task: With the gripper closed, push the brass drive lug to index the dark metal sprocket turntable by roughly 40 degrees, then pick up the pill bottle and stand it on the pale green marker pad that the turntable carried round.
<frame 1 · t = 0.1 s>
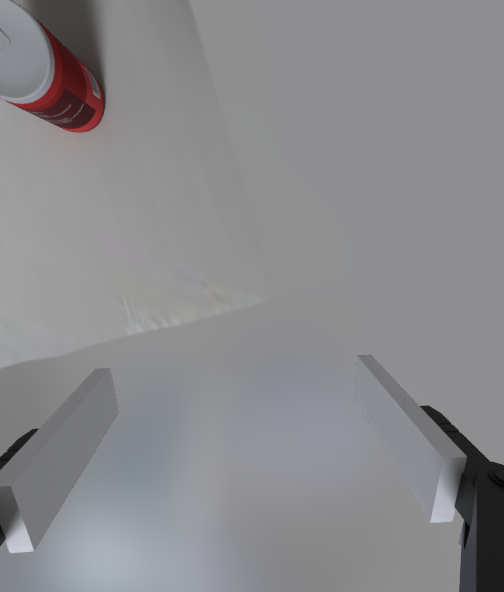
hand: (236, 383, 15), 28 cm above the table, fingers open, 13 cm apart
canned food: (75, 99, 35), on the table
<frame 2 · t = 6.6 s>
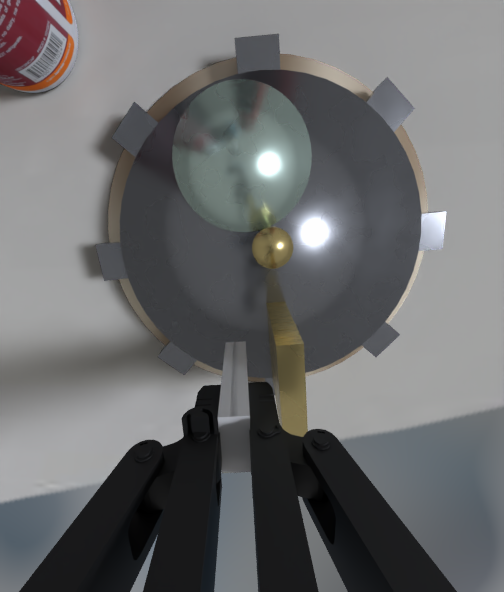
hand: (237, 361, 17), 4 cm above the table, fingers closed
sprocket: (275, 252, 15), point 4 cm above the table, hinge at 2.8°, touching gripper
base: (269, 243, 19), on the table
pill bottle: (28, 34, 15), on the table
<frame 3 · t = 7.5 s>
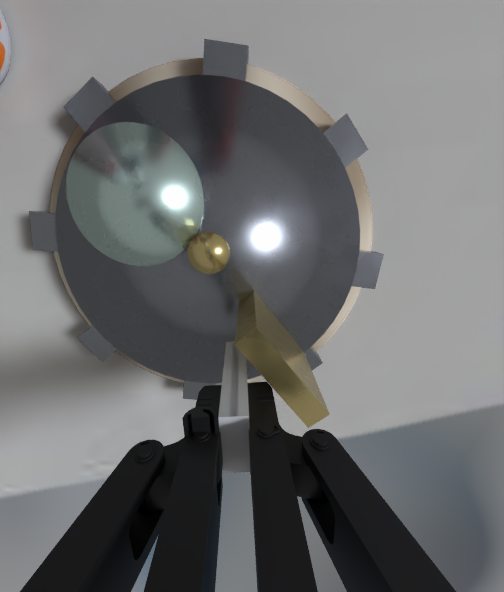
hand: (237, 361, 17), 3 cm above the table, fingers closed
sprocket: (204, 257, 15), point 4 cm above the table, hinge at 35.8°, touching gripper
base: (213, 248, 19), on the table
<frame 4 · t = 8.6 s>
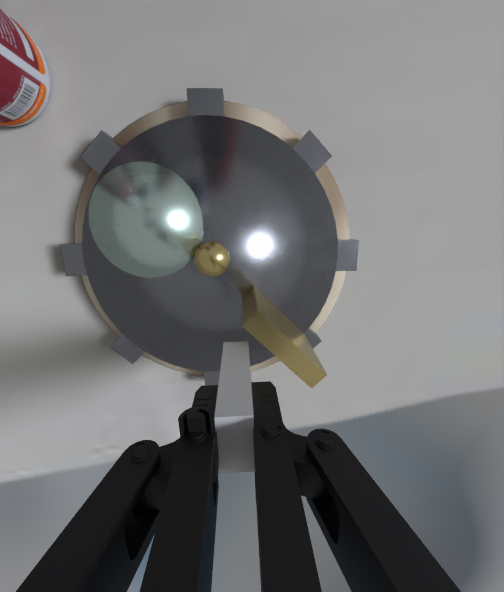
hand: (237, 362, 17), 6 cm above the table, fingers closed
sprocket: (208, 262, 18), point 4 cm above the table, hinge at 44.3°
base: (215, 255, 22), on the table
pill bottle: (9, 79, 19), on the table
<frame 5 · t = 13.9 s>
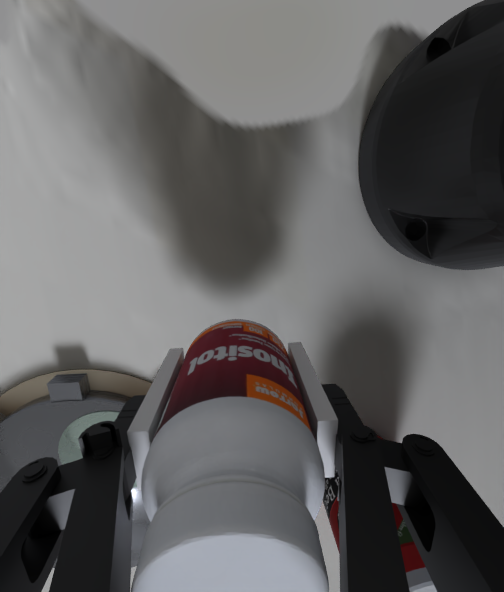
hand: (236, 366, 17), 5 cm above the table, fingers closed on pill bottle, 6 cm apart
sprocket: (73, 526, 21), point 4 cm above the table, hinge at 44.3°
base: (99, 474, 25), on the table
pill bottle: (236, 361, 17), point 5 cm above the table, touching gripper
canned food: (352, 459, 26), on the table
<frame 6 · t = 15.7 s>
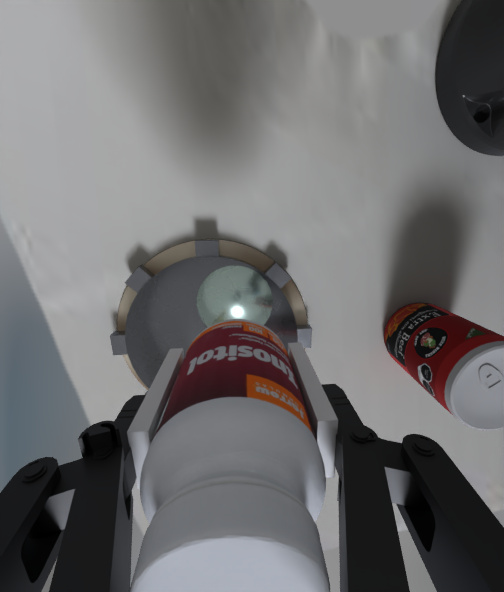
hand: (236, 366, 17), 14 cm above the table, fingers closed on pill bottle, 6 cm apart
sprocket: (210, 352, 27), point 4 cm above the table, hinge at 44.3°
base: (214, 334, 31), on the table
pill bottle: (236, 361, 17), point 14 cm above the table, touching gripper
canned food: (413, 332, 32), on the table
when the fingers open (3 cm above the table, at t = 17.8 s): pill bottle stays where it is, resting on sprocket.
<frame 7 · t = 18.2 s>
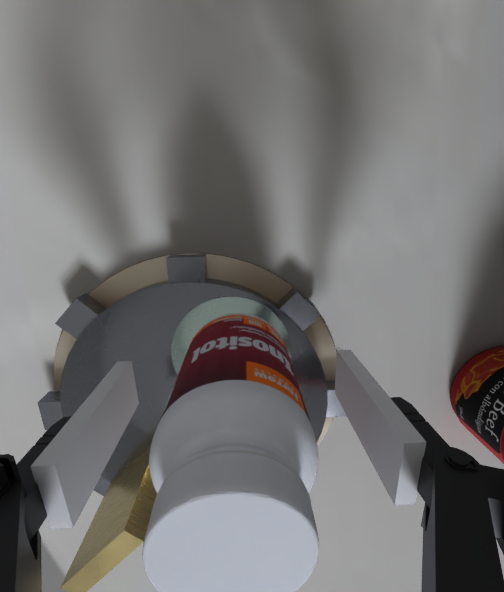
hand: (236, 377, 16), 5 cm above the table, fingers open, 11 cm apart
sprocket: (192, 435, 17), point 4 cm above the table, hinge at 44.1°, touching pill bottle
base: (201, 393, 21), on the table
pill bottle: (237, 353, 18), point 2 cm above the table, touching sprocket
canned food: (492, 386, 22), on the table
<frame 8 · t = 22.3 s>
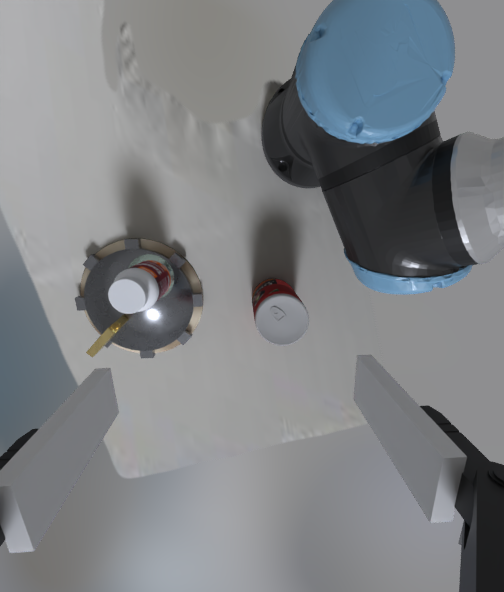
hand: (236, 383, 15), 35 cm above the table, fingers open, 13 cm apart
sprocket: (134, 306, 45), point 4 cm above the table, hinge at 44.1°, touching pill bottle
base: (143, 299, 49), on the table
pill bottle: (153, 277, 46), point 2 cm above the table, touching sprocket
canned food: (273, 298, 50), on the table
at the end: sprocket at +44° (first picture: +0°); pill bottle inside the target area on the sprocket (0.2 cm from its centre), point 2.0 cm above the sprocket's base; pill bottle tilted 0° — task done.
